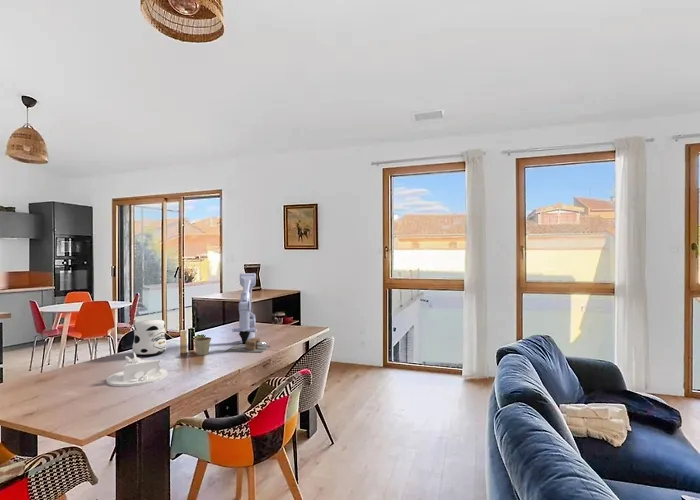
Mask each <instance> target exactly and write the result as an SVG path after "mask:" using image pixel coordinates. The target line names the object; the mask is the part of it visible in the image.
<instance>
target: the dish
mask: <svg viewBox="0 0 700 500" xmlns="http://www.w3.org/2000/svg"><path fill="white" fill-rule="evenodd" d="M132 353H133V358H131V357H129V356H127V355H125V357H124V359H125V360H126V361H127V362H125V364H124V365H123V370H122V371H118V372H115V373H113V374H111V375H109V376H108V377H107V378H106V384H107V385H110V386H113V387H121V388H123V387H136V386H137V387H138V386H143V385H148V384H153V383H155V382H159V381H161V380H163V379H165V378H166V377H167V376H168V374H169V372H168V370H167V369H164V368H162V367H160V365H161V361H160V360H156V359H155V360H154V359H151V360H150V359H141V357H137V355H136V354H135V353H134V352H133V351H132Z"/></svg>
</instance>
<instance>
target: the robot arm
mask: <svg viewBox="0 0 700 500" xmlns="http://www.w3.org/2000/svg"><path fill="white" fill-rule="evenodd" d="M256 280H257V274H256V272H251V273H248V272H247V273H245V272H244V273H243V272H241V273H240V274H239V283H240V286H241V287H242V292H241V293H240V299H239V302H238V313H239V320H238V321H239V322H238V323H239V324H238V325H239V327H237V328H236V327H235V328H234V327H233V328H232V331H231V332H232V333H238V334H239V335H238V336H240V339H241V341H239V344H242V345H245V343H246V341H247V340H249V339H251V338H256V333H257V332H258V329H257V328H255V327H256V323H257V322H256V321H257V320H256V314H254V313H253V312H252V297H253V296H252V295H253V294H252V291H253V287H256V282H257V281H256Z"/></svg>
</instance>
